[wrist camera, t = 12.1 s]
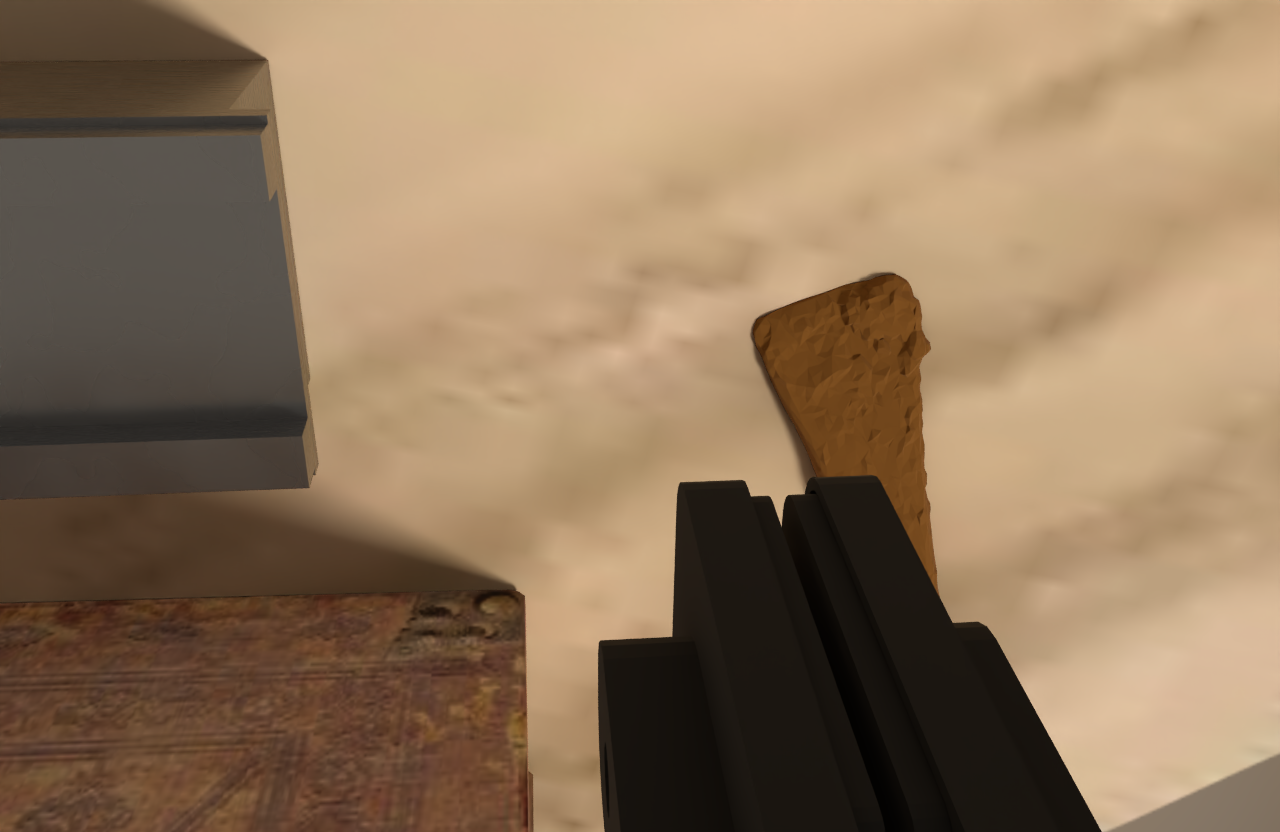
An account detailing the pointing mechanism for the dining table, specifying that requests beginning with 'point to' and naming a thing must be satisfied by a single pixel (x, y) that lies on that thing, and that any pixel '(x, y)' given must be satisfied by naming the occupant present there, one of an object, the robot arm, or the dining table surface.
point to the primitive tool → (857, 389)
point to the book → (266, 714)
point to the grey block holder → (147, 283)
